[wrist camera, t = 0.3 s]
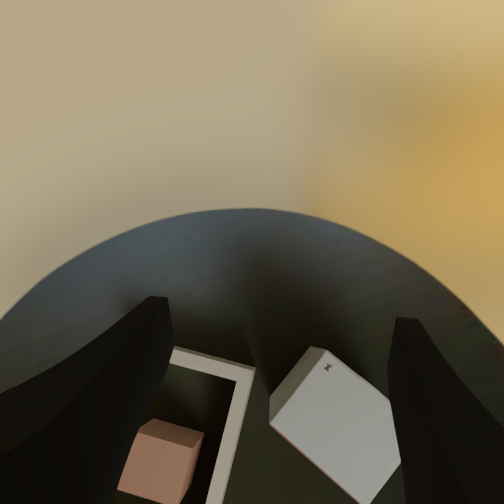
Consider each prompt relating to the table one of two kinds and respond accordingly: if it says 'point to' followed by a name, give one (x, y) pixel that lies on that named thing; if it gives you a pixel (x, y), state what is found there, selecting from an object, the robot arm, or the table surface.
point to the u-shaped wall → (235, 415)
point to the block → (161, 462)
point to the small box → (337, 423)
